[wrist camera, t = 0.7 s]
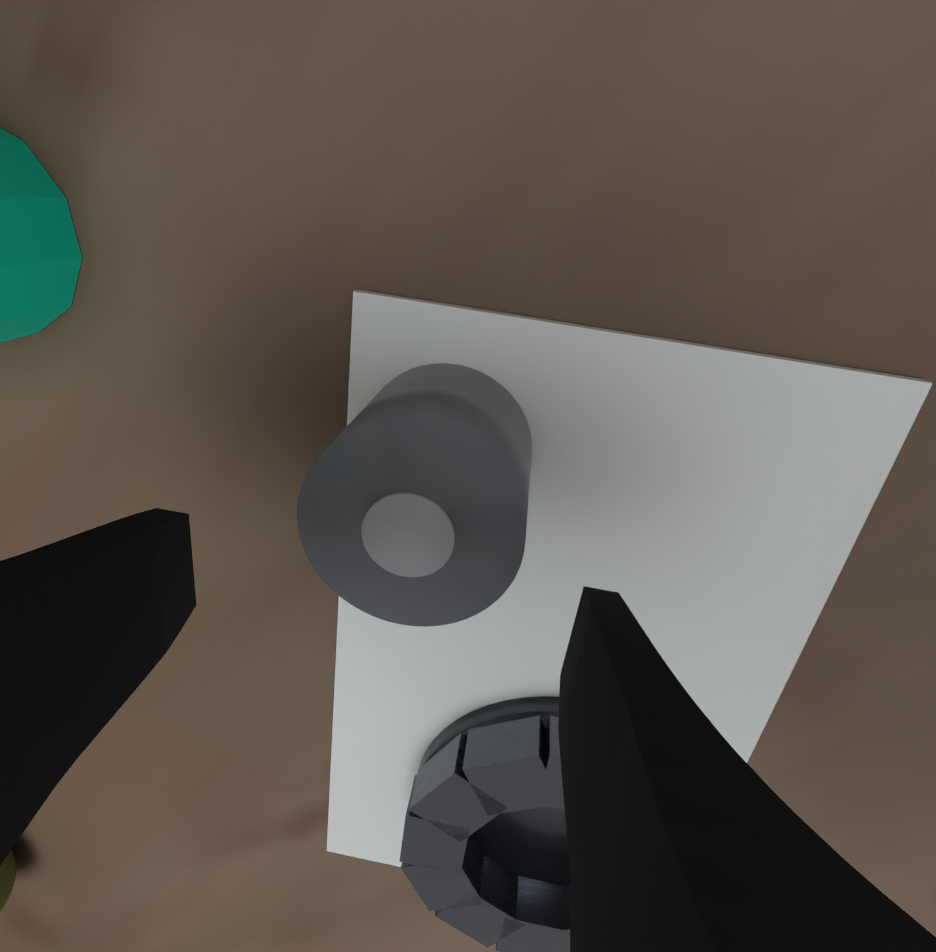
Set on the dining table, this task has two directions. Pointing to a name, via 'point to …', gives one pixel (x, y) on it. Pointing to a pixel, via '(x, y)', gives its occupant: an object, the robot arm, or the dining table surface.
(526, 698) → the toothed grey gear
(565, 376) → the mat
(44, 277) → the candle
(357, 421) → the cap
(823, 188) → the dining table surface
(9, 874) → the pear
